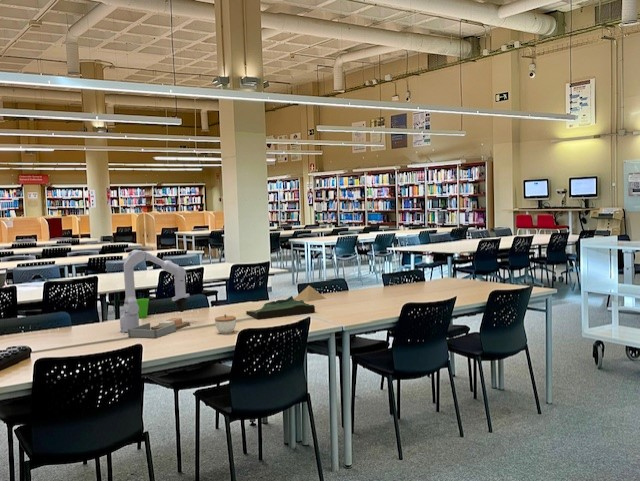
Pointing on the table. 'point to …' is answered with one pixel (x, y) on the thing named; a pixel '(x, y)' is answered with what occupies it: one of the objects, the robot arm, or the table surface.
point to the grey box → (150, 331)
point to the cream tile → (166, 323)
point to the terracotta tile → (176, 320)
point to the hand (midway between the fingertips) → (181, 311)
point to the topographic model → (282, 309)
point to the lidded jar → (225, 324)
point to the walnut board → (175, 326)
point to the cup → (142, 307)
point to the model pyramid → (309, 295)
